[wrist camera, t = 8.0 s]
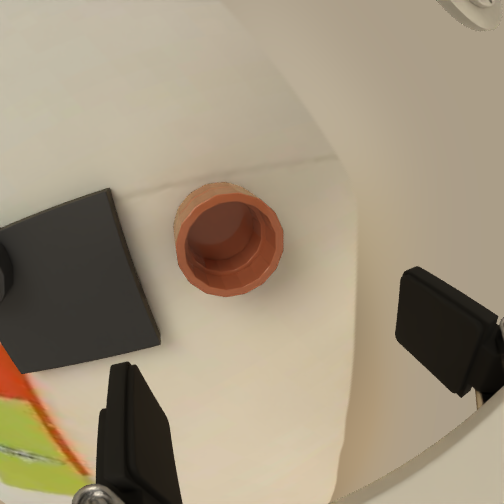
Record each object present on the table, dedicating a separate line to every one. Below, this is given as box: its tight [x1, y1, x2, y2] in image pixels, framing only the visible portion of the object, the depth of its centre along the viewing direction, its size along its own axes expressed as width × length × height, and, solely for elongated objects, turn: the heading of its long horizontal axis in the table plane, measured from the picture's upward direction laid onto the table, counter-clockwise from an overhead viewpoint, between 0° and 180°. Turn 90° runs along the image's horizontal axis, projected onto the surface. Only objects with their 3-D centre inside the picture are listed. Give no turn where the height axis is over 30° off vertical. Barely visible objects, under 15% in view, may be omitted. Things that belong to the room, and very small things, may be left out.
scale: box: [0, 188, 161, 374], centre depth 18 cm, size 13×14×3 cm
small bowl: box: [173, 182, 283, 297], centre depth 19 cm, size 6×6×4 cm
